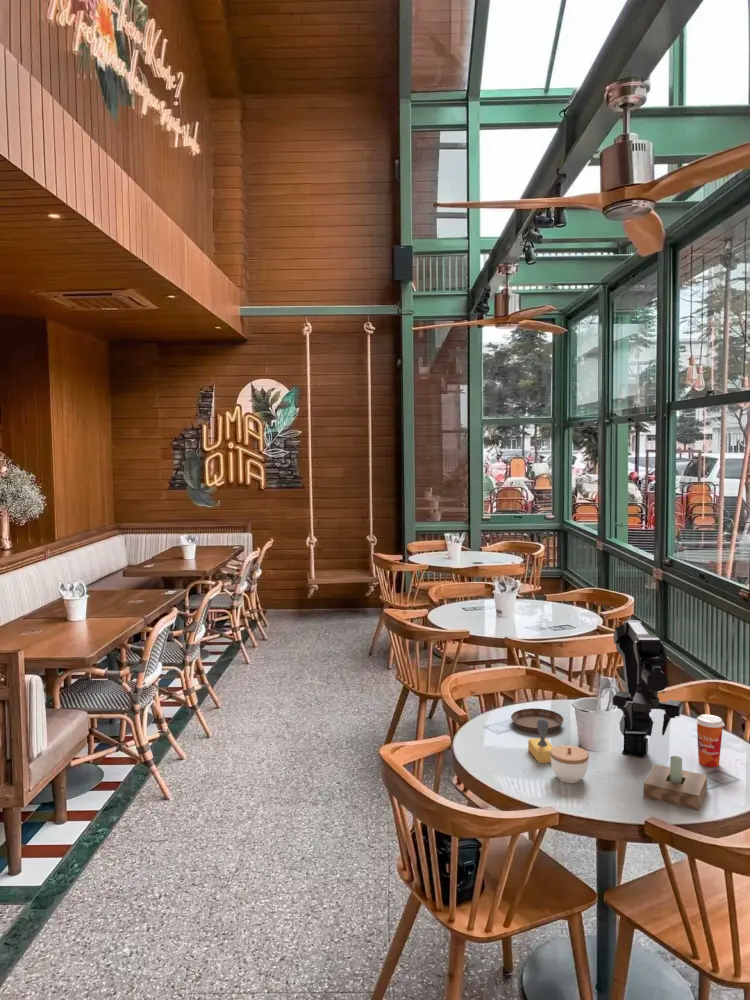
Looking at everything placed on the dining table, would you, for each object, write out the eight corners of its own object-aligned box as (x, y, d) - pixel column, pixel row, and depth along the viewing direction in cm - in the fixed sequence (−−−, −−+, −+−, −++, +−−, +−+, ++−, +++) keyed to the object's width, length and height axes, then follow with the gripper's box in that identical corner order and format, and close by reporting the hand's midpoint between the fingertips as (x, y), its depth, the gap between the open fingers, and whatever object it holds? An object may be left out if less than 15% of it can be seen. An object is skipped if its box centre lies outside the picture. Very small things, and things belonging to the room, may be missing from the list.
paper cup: (691, 763, 225) (692, 718, 224) (700, 755, 230) (701, 711, 229) (718, 771, 219) (719, 725, 218) (726, 763, 225) (728, 718, 224)
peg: (668, 794, 206) (669, 759, 205) (670, 789, 209) (671, 755, 208) (680, 796, 204) (681, 761, 204) (682, 792, 207) (683, 757, 206)
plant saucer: (524, 738, 246) (524, 729, 246) (502, 719, 263) (502, 710, 263) (573, 732, 250) (573, 724, 250) (548, 714, 267) (548, 706, 267)
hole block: (643, 797, 204) (643, 783, 204) (654, 777, 216) (654, 764, 216) (698, 810, 197) (698, 795, 197) (706, 789, 209) (707, 775, 208)
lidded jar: (569, 790, 209) (570, 758, 208) (542, 776, 218) (542, 745, 217) (596, 780, 215) (596, 749, 214) (568, 767, 224) (568, 736, 223)
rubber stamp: (557, 762, 227) (557, 723, 227) (538, 763, 227) (539, 725, 226) (545, 748, 237) (545, 712, 236) (527, 750, 237) (528, 713, 236)
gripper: (607, 682, 216) (607, 734, 217) (676, 693, 206) (675, 748, 208) (617, 672, 226) (617, 722, 227) (683, 682, 216) (682, 734, 217)
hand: (646, 731), depth 219 cm, fingers open, 9 cm apart
